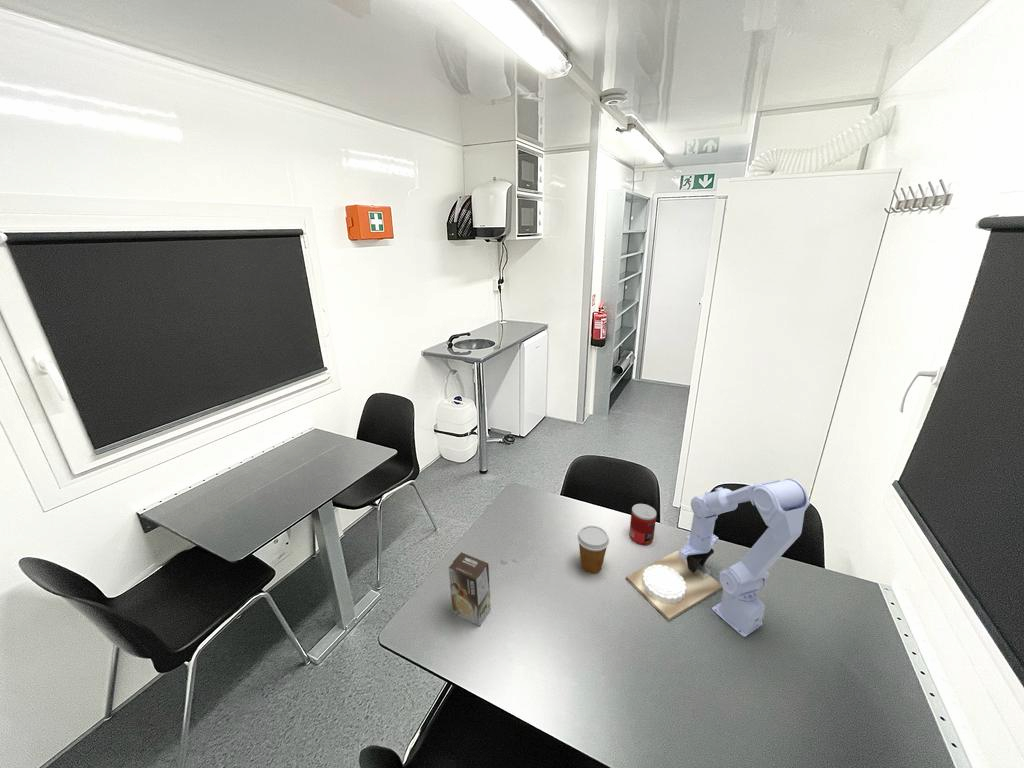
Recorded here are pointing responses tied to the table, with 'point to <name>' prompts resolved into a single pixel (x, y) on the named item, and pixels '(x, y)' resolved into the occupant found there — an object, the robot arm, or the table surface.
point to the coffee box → (470, 588)
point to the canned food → (642, 524)
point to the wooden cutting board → (696, 584)
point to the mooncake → (664, 584)
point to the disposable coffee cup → (592, 548)
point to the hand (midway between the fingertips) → (694, 568)
